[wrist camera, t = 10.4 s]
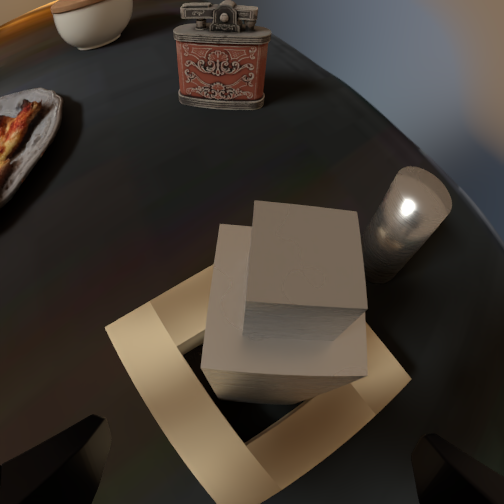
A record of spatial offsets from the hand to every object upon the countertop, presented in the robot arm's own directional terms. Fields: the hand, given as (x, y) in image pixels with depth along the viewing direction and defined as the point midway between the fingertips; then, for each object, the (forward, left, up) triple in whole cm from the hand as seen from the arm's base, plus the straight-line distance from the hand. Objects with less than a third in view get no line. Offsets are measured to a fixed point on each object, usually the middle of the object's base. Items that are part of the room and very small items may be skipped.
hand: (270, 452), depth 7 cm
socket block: (+3, -2, -8) cm, 9 cm away
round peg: (+4, -12, -8) cm, 15 cm away
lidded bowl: (+53, -8, -8) cm, 54 cm away
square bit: (+3, -2, -8) cm, 9 cm away
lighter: (+24, -13, -8) cm, 28 cm away
